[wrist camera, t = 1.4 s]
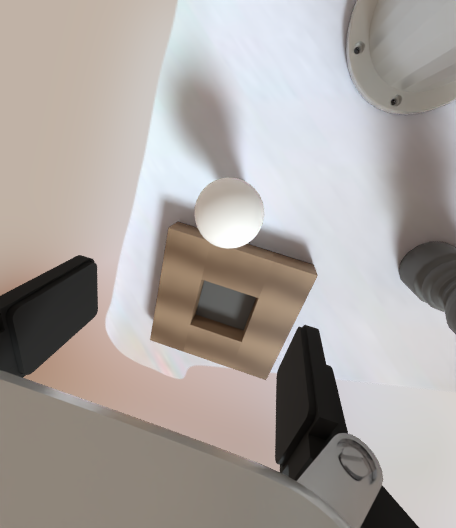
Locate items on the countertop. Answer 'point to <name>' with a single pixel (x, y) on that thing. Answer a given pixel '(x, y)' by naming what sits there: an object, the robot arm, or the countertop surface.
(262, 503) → the robot arm
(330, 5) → the countertop surface
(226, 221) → the lightbulb
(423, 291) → the candle holder
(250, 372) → the socket block
